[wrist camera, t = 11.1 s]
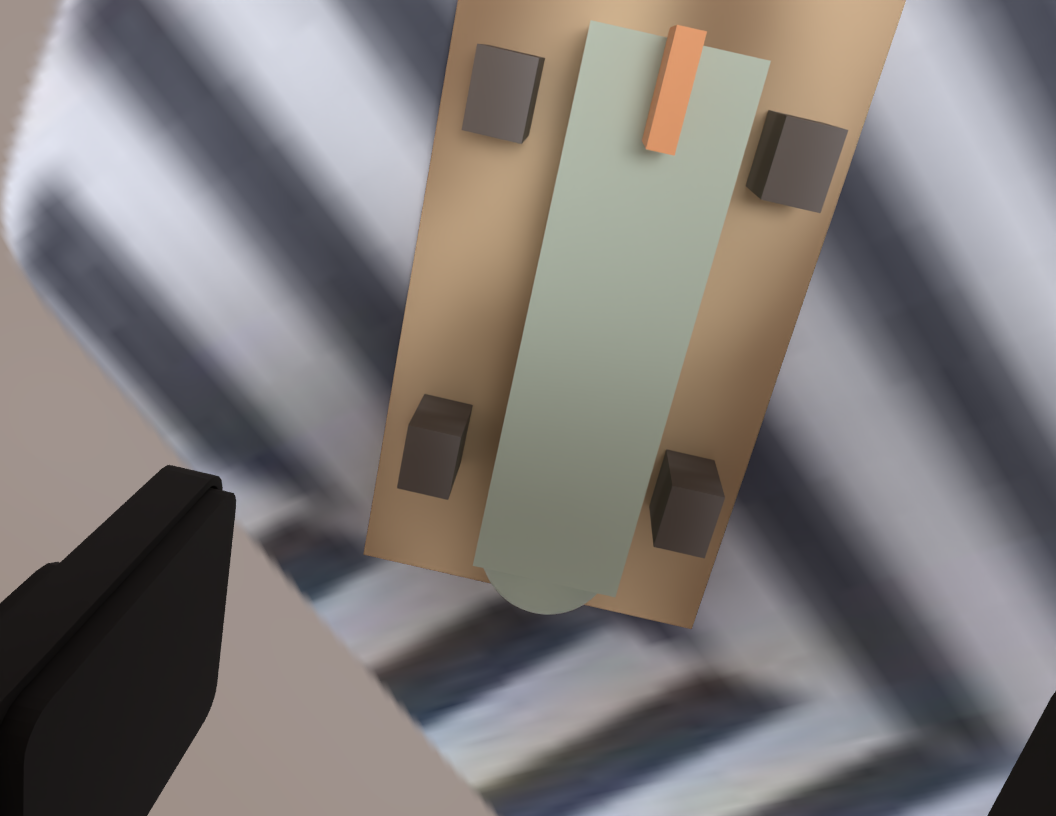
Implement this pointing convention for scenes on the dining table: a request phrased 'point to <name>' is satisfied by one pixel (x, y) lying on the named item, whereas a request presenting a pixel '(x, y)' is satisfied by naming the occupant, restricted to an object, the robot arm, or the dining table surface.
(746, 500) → the dining table surface
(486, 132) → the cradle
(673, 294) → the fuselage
